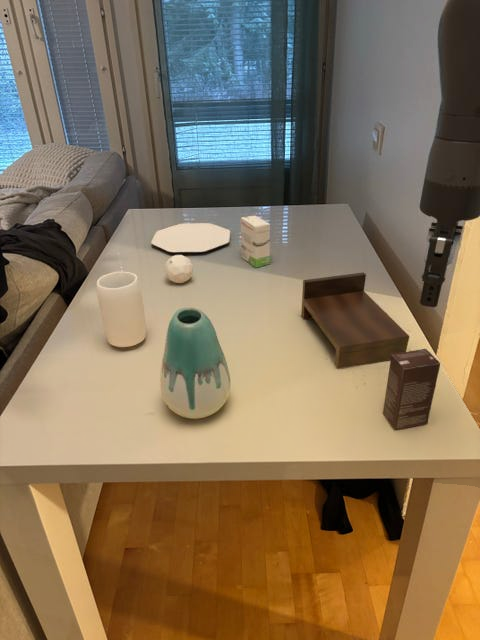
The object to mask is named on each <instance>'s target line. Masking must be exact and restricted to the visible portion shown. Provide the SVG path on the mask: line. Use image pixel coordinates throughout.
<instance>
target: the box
mask: <svg viewBox="0 0 480 640" xmlns="http://www.w3.org/2000/svg"><path fill="white" fill-rule="evenodd" d="M389 361H390V362H389V368H388V376H387V383H386V389H385V396H384V403H383V408H382V414H383V416H384V417H385V419H386V420H387V422H388V423H389V424H390V426H391V428H392V429H393V430H401V429H405V428H410V427H416V426H422V425H428V422H429V418H430V413H431V410H432V404H433V400H434V396H435V390H436V385H437V381H438V376H439V372H440V367H441V362H440V361H439V360H438V359H437V358H436V357H435V356H434V355H433V354H432V353H431V352H430V351H429V350H428V349H427V348H422V349H421V348H420V349H416V350H409V351H406V352H402V353H395V354H391V360H389Z"/></svg>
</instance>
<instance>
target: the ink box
mask: <svg viewBox="0 0 480 640" xmlns="http://www.w3.org/2000/svg"><path fill="white" fill-rule="evenodd" d="M240 242H241V243H240V245H241V247H240V251H241V254H240V255H241V258H242V259H243V260H245V262H247V263H248V264H250V265H251V266H253V267H254V268H259V267H260V268H261V267H265V266H267V265H271V223H269V222H267V221H266V220H264V219H263V218H261V217H259V216H258V215H249V216H248V215H247V216H242V217H240Z"/></svg>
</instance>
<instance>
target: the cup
mask: <svg viewBox="0 0 480 640" xmlns="http://www.w3.org/2000/svg"><path fill="white" fill-rule="evenodd" d="M96 292H97V300H98V306H99V311H100V316H101V321H102V324H103V328H104V331H105V332H104V333H105V335H106V338H107V342H108V344H110V345H112V346H114V347H118V348H126V347H132V346H136V345H138V344H140V343H142V342H143V341H144V340H145V339H146V337H147V324H146V314H145V307H144V299H143V293H142V289H141V285H140V281H139V277H138V276H137V274H135V273H133V272H130V271H113V272H110V273H106V274H103V275H102V276H100V277H98V279H97V280H96Z"/></svg>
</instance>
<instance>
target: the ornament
mask: <svg viewBox="0 0 480 640" xmlns="http://www.w3.org/2000/svg"><path fill="white" fill-rule="evenodd" d="M164 273H165V275H166V277H167V279H168V280H169V281H171V282H173V283H175V284H183V283H185V282H187V281H189V280H190V278H191V277H192V275H193V273H194V266H193V264H192V261H191V259H190V258H188V257H187V256H184V255H183V254H175V255H172V256H171V257H169V258H168V259H167V261H166V262H165V265H164Z"/></svg>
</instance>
